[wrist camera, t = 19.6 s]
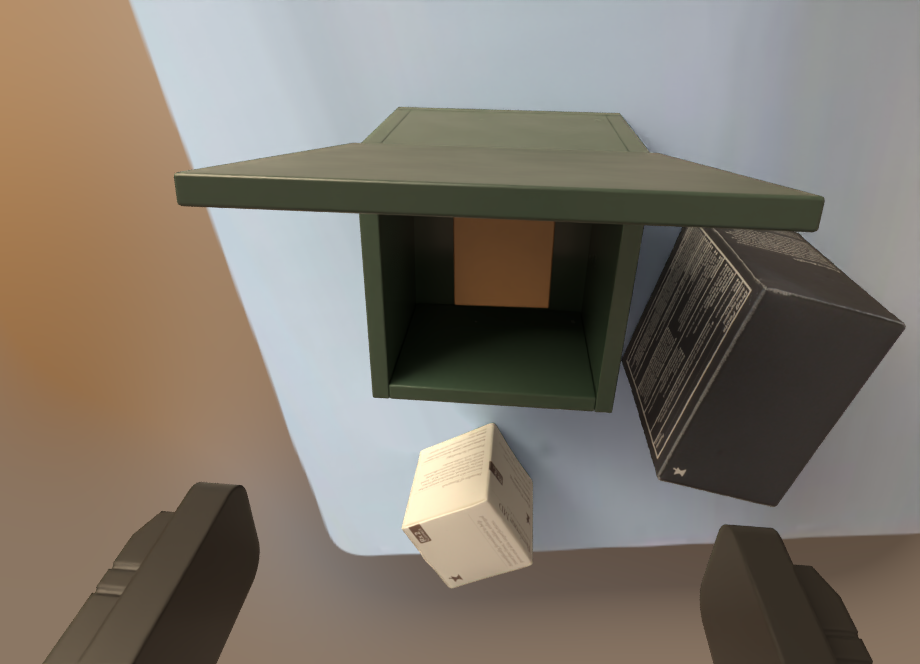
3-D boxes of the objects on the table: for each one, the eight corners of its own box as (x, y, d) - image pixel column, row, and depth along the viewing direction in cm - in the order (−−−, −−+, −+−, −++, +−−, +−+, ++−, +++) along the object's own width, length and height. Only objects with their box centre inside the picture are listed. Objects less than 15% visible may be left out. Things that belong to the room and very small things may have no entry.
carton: (463, 263, 34) (454, 305, 29) (462, 182, 32) (452, 214, 27) (545, 265, 33) (548, 308, 29) (551, 183, 31) (555, 217, 27)
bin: (591, 317, 36) (611, 413, 28) (405, 307, 36) (372, 398, 28) (620, 113, 30) (656, 159, 22) (398, 106, 31) (353, 148, 23)
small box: (717, 387, 37) (780, 516, 28) (617, 361, 37) (648, 483, 28) (807, 232, 32) (920, 329, 23) (691, 200, 32) (759, 285, 23)
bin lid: (819, 233, 10) (827, 196, 10) (175, 206, 11) (171, 172, 11) (656, 170, 22) (658, 152, 21) (351, 159, 22) (351, 142, 22)
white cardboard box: (534, 480, 42) (536, 567, 36) (460, 506, 44) (450, 593, 38) (493, 418, 40) (487, 500, 34) (417, 449, 42) (398, 531, 36)
